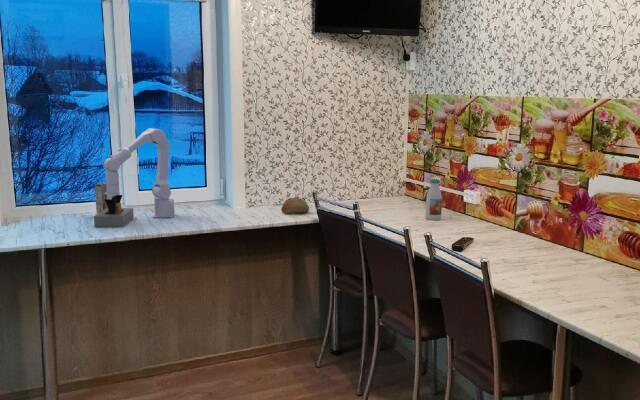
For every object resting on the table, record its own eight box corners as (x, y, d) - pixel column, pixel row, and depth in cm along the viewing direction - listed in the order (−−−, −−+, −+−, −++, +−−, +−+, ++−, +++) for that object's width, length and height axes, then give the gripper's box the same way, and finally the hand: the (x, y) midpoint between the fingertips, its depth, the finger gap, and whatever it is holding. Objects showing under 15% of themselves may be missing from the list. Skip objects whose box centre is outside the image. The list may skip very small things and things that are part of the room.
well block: (133, 217, 289) (133, 207, 288) (123, 226, 269) (122, 216, 269) (106, 217, 288) (106, 208, 287) (94, 227, 268) (93, 216, 268)
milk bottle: (423, 219, 291) (425, 180, 287) (428, 216, 297) (429, 178, 294) (438, 221, 287) (440, 181, 283) (442, 218, 294) (444, 179, 290)
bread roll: (278, 212, 305) (278, 197, 304) (305, 210, 311) (305, 195, 309) (284, 216, 297) (284, 200, 295) (311, 214, 302) (311, 198, 301)
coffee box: (112, 212, 300) (110, 182, 297) (119, 214, 297) (117, 183, 294) (96, 215, 293) (94, 184, 290) (103, 217, 289) (101, 185, 286)
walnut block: (122, 221, 281) (121, 202, 280) (119, 223, 277) (118, 204, 275) (111, 221, 281) (110, 202, 279) (108, 223, 276) (107, 204, 275)
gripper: (108, 181, 282) (110, 208, 285) (99, 186, 268) (101, 214, 270) (123, 181, 283) (124, 208, 285) (115, 186, 268) (116, 214, 271)
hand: (114, 211), depth 278 cm, fingers open, 7 cm apart
